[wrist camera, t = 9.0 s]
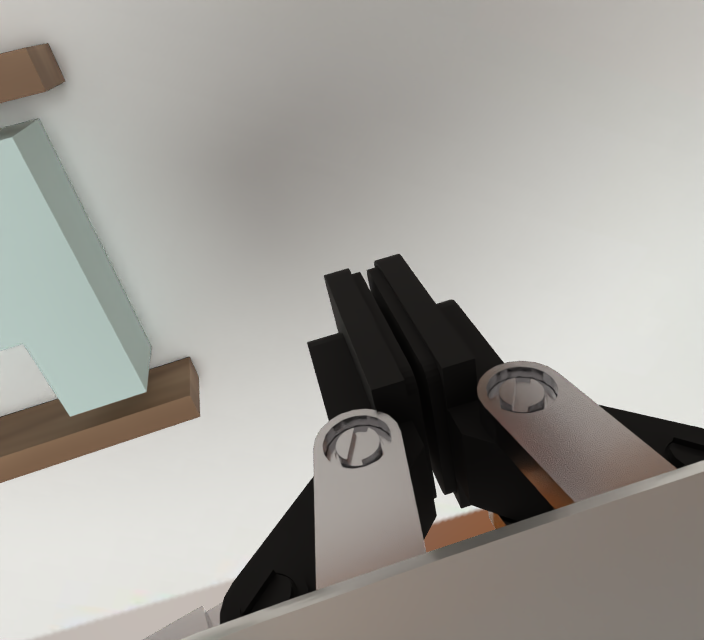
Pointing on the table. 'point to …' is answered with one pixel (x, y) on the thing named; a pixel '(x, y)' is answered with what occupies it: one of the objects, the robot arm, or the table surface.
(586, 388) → the table surface
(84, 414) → the corral
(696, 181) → the table surface
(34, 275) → the tee block
